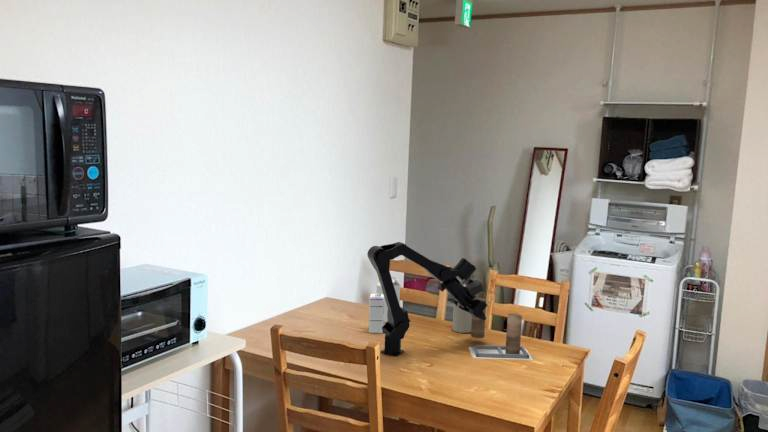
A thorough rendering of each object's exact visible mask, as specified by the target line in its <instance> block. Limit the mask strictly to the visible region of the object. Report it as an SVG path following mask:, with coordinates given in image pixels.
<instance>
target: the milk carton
mask: <svg viewBox="0 0 768 432" xmlns="http://www.w3.org/2000/svg"><path fill="white" fill-rule="evenodd" d="M391 278H392V281H393V285H394V288H395V291H396V295H397V298H398V302H399V305H401V304H400V300H401V299H400V297H401V296H400V295H401V285H400V283H399V282H398V280H396V279H397V278H396V276H392V275H391ZM375 294H383V291H382V287H381V284H380V281H379V280H378V282H377V284H376V293H375ZM387 312H388V307H387V304H386V301H385V297H384V323H387V321H388V318H387Z"/></svg>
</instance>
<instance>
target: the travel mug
mask: <svg viewBox="0 0 768 432" xmlns="http://www.w3.org/2000/svg"><path fill="white" fill-rule="evenodd" d="M462 285H463V286H464V287H465V286H466V284H462ZM471 323H472V315H471V314H470V313H469V312H467V311H464V310H462V309H460V308H459V305H458V306H455V305H454V304H453V312H452V330H453V332H456V333H460V334H468V333H471Z"/></svg>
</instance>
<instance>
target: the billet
mask: <svg viewBox="0 0 768 432" xmlns="http://www.w3.org/2000/svg"><path fill="white" fill-rule="evenodd" d="M477 299H481V300H483V301H485V302H486V303H487V299H485V298H482V297H475V298H474V299H473V300H475V301H476V300H477ZM486 308H487V307H486ZM486 308H485V309H484V310H483V312H484V314H485V316H486V315H487V314H486V313H487V311H486V310H487V309H486ZM485 330H486V320H482V319H480V318H478V317H475V316H473V315H472V323H471V332H470V337H471V338H475V339H485Z"/></svg>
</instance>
